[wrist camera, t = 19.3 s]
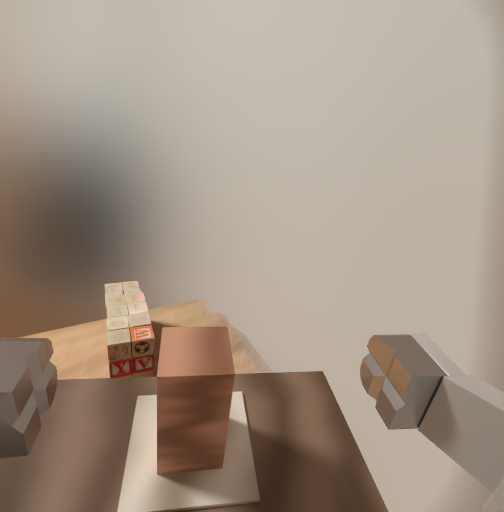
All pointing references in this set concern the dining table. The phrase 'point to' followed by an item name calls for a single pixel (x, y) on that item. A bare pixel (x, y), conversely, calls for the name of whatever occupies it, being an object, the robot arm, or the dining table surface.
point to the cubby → (194, 482)
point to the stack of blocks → (129, 331)
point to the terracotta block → (193, 398)
